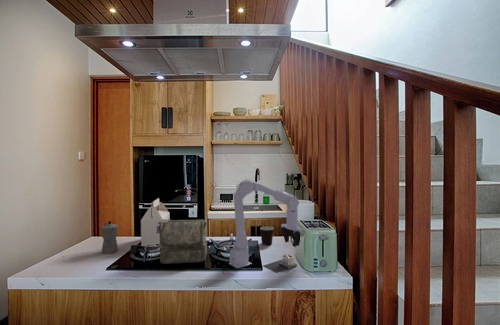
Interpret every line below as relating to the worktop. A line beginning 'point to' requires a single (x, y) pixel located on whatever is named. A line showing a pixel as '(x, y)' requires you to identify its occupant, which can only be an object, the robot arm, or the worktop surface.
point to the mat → (275, 266)
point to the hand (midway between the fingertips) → (291, 243)
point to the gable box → (153, 223)
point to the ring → (287, 260)
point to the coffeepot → (109, 238)
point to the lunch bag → (182, 241)
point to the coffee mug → (266, 235)
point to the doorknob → (287, 266)
